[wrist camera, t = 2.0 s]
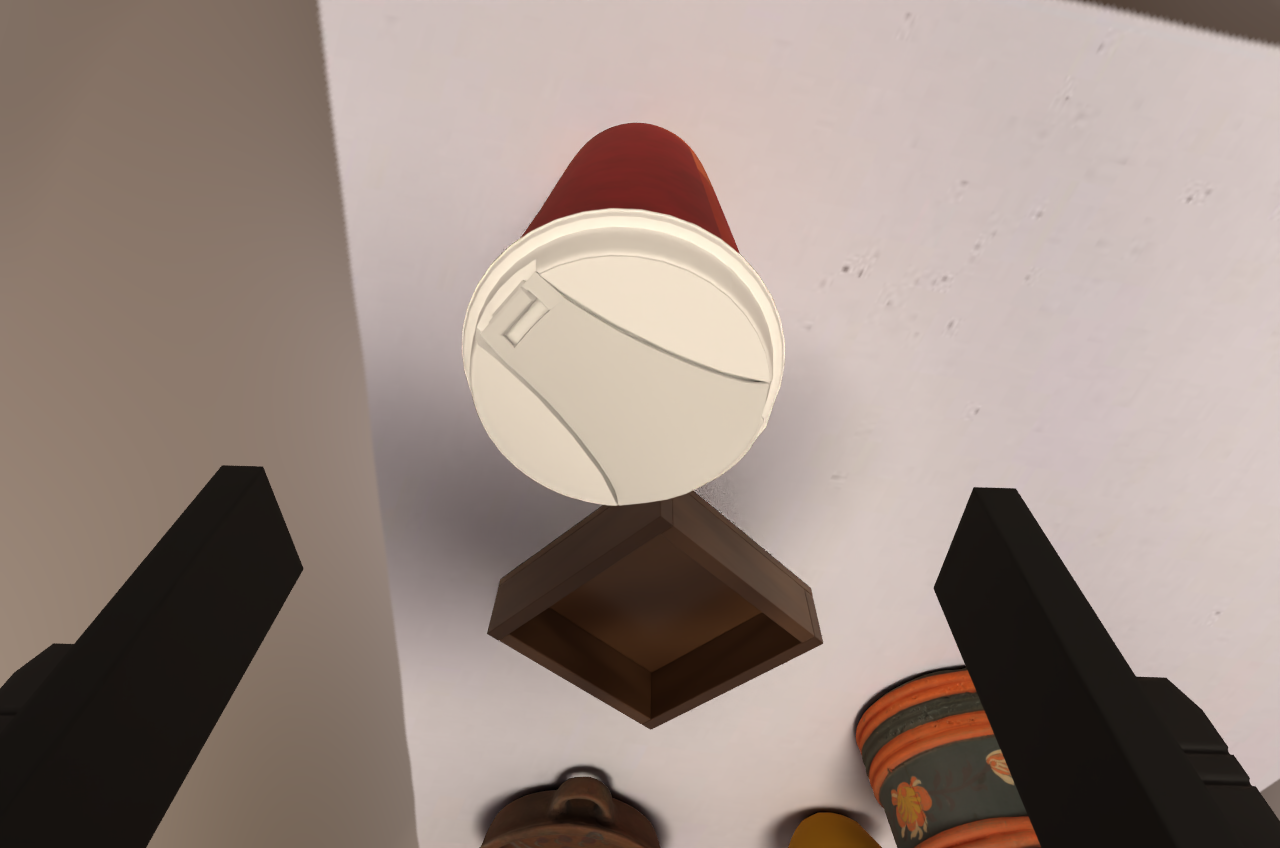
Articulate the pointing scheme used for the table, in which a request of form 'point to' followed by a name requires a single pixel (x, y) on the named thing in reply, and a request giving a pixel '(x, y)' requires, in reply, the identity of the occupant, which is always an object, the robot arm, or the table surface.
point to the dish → (571, 820)
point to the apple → (831, 833)
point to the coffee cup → (624, 330)
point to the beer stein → (941, 767)
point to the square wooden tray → (655, 608)
